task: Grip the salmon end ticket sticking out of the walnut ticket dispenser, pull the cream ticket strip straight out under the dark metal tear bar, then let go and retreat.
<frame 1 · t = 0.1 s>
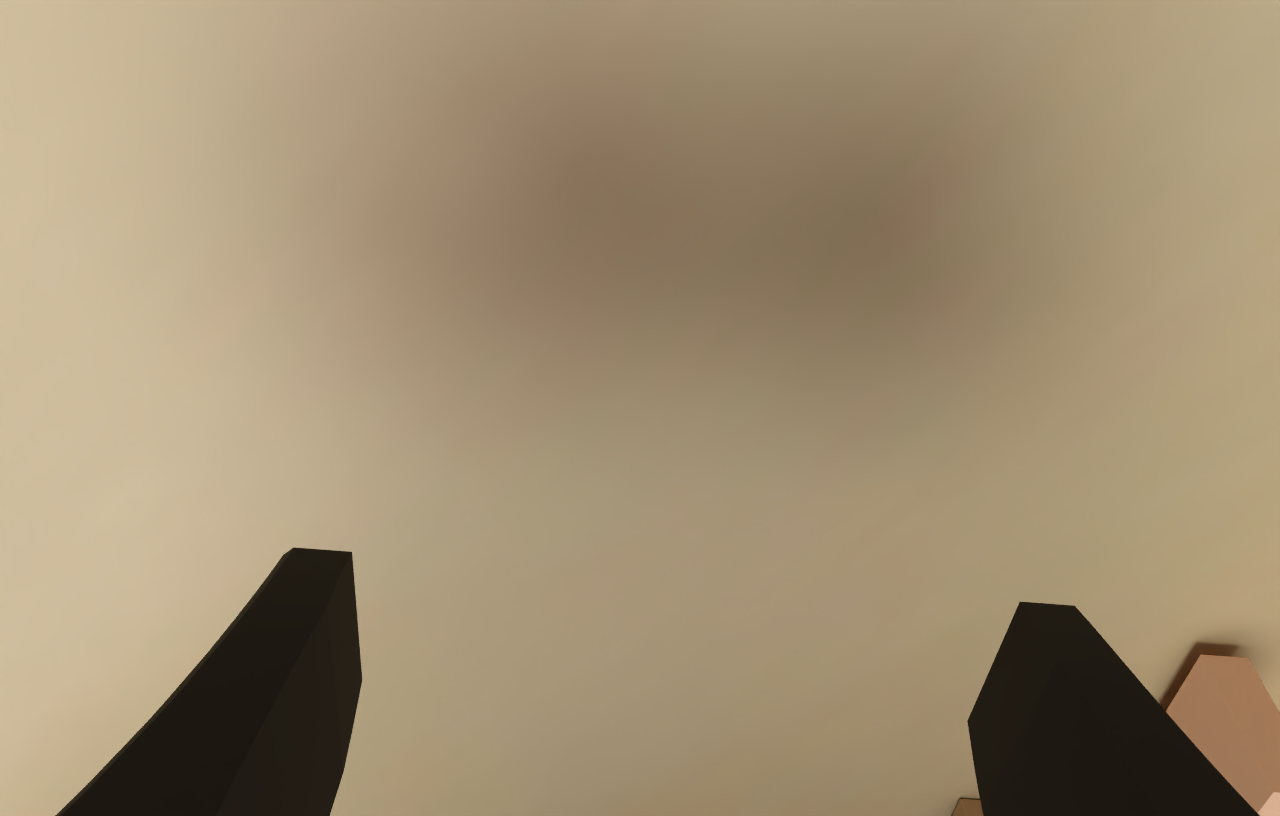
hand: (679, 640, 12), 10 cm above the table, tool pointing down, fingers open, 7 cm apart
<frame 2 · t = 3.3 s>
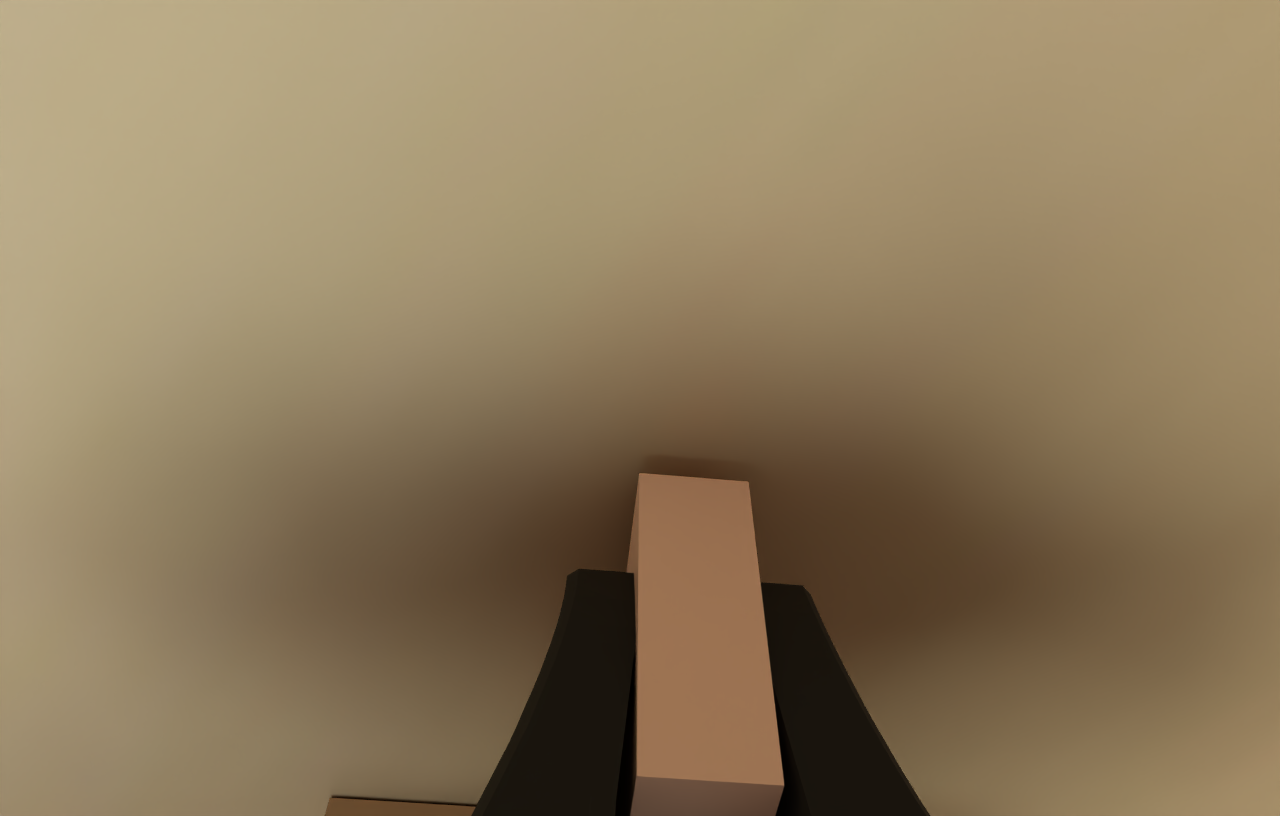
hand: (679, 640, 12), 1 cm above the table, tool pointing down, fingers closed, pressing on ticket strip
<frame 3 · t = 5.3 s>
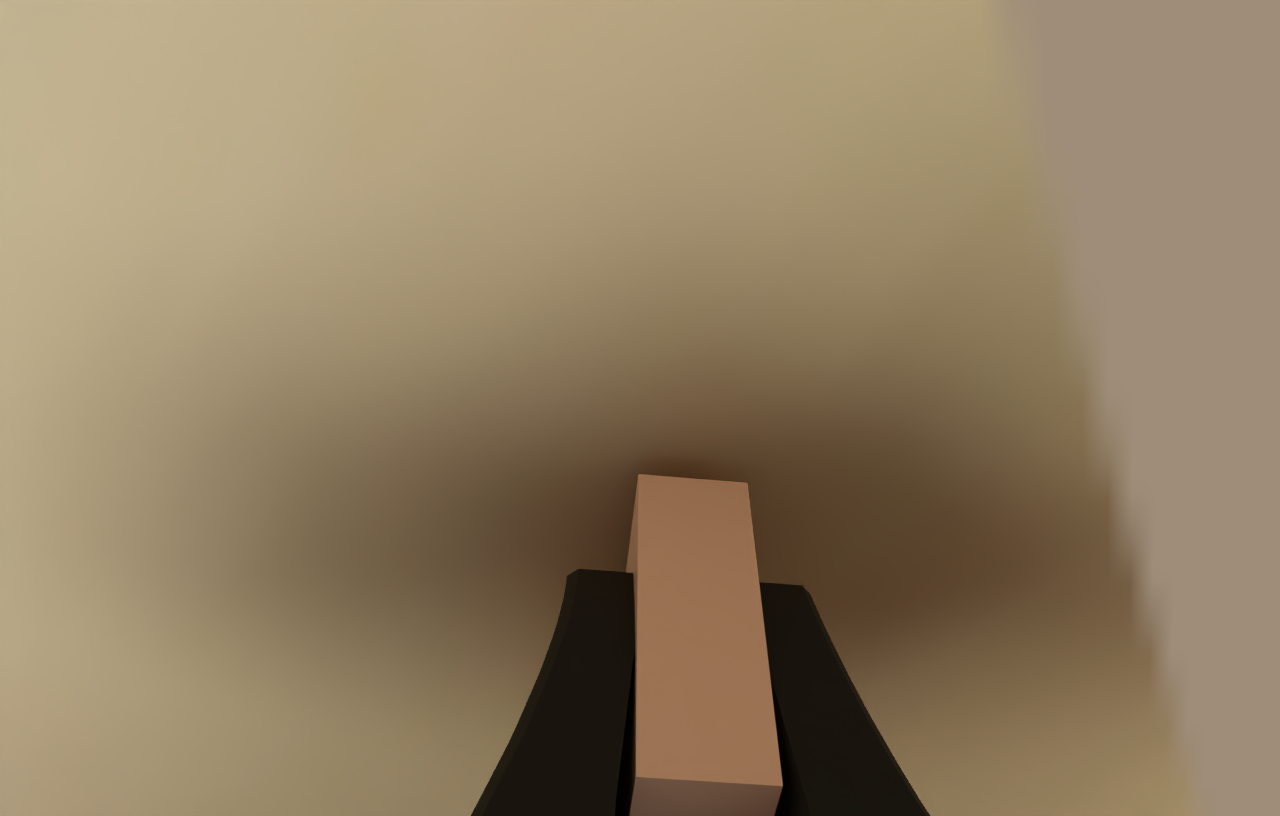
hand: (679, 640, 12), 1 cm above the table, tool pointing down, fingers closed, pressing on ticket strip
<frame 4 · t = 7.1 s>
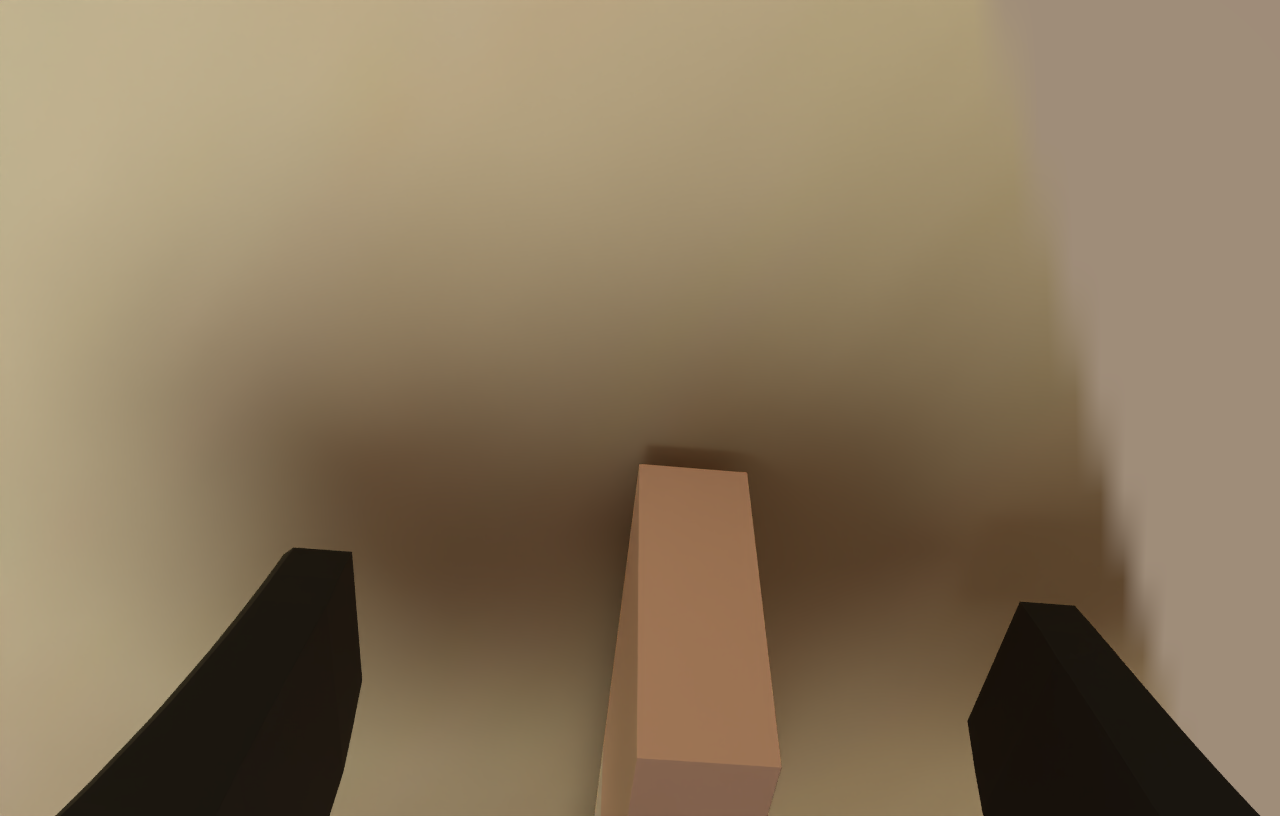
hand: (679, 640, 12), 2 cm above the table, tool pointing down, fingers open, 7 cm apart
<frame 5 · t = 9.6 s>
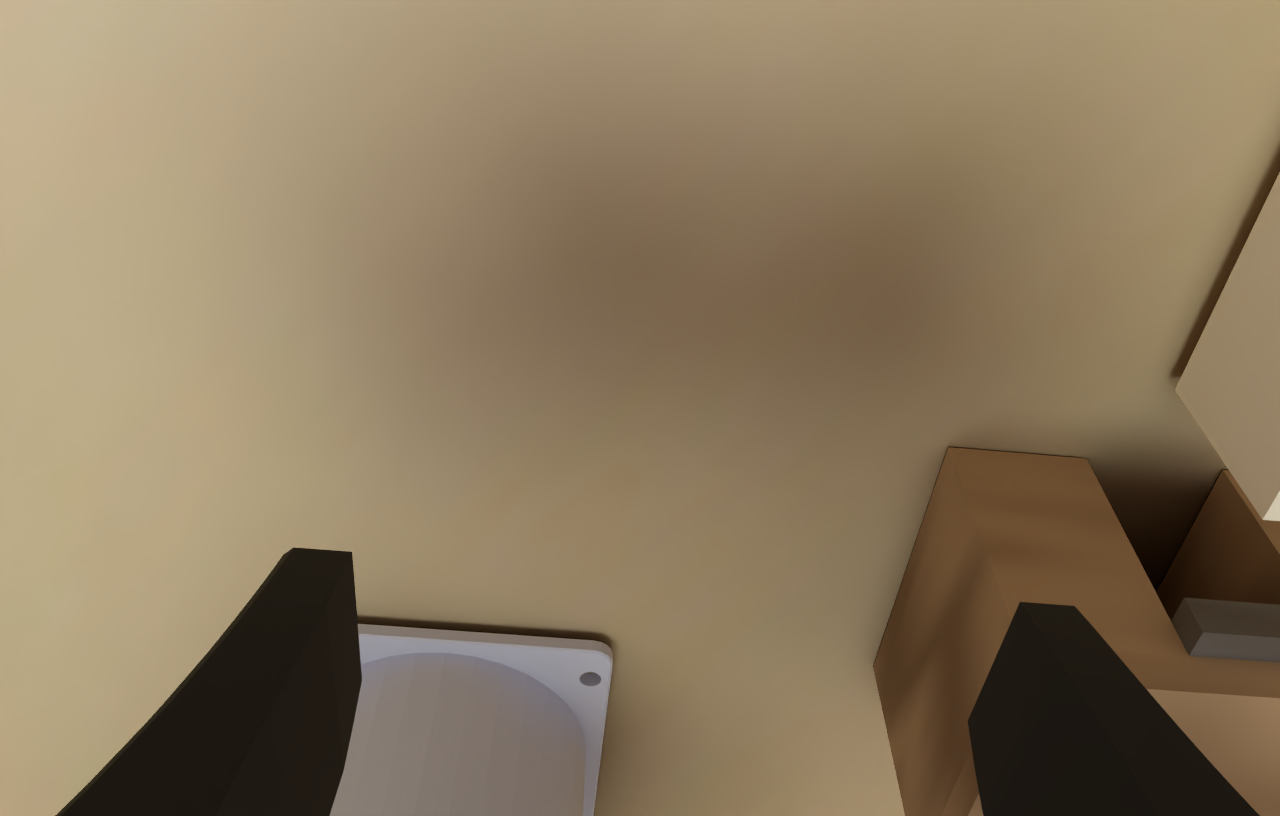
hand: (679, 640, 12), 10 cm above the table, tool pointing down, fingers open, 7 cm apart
dispenser: (1129, 516, 24), on the table
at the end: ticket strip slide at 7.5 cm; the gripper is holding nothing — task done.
